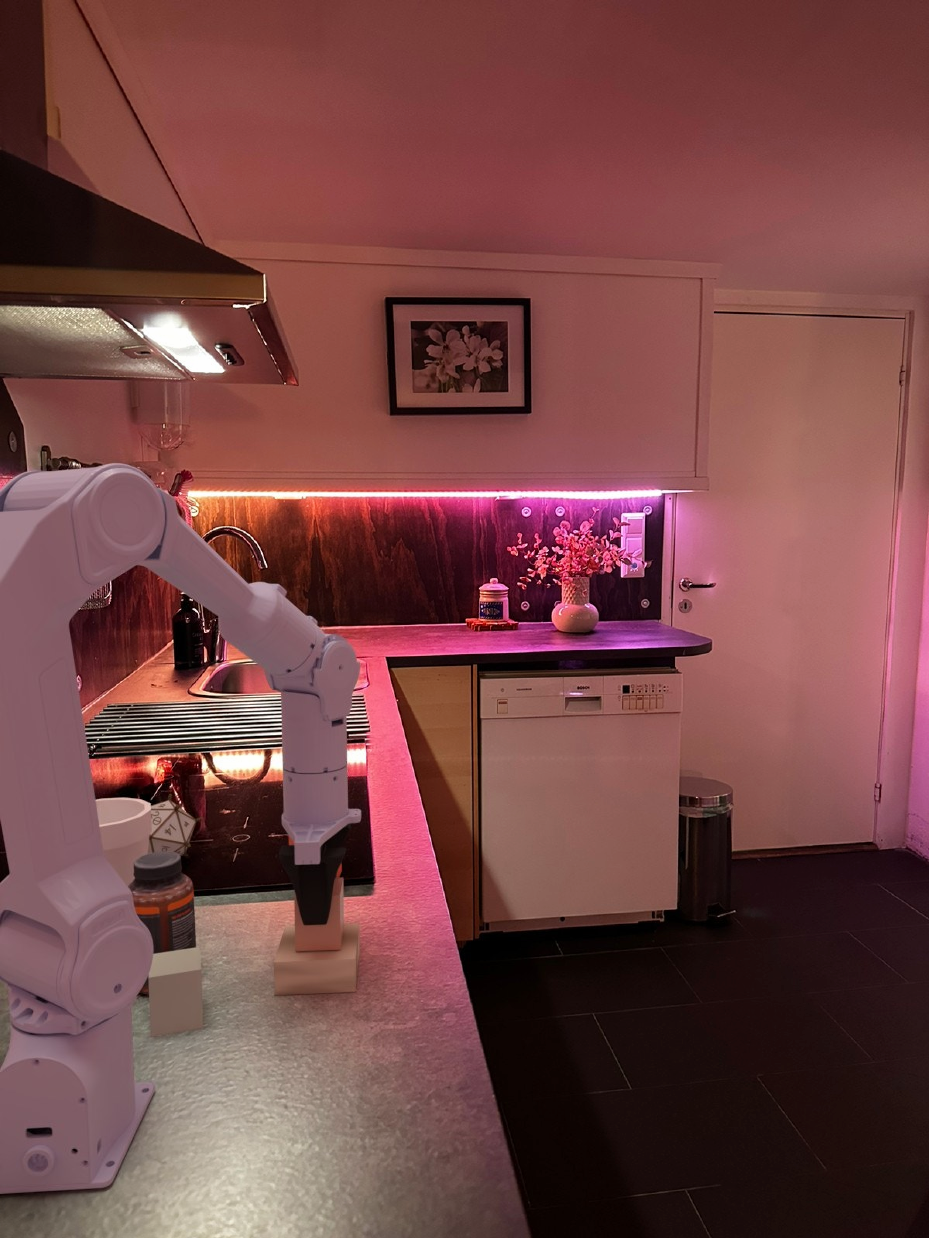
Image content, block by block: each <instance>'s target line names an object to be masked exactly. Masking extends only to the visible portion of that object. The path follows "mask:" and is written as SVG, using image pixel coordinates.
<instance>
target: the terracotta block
mask: <svg viewBox="0 0 929 1238" xmlns="http://www.w3.org/2000/svg"><path fill="white" fill-rule="evenodd" d="M293 898H294V900H293V901H294V904H293V905H294V907H293V908H294V925H295V951H315V950H341V944H342V938H343V931H344V923H345V913H344V912H345V911H344V910H345V909H344V906H345V905H344V877H339V878H335V880H334V886H333V893H332V901H331V908H330V913H329V918H328V921H327V924H326V925H304V924H303V922H302V919H301V915H300V912H299V907H298V903H297V899H296V895H295V894H294V897H293Z"/></svg>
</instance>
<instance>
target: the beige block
mask: <svg viewBox="0 0 929 1238" xmlns="http://www.w3.org/2000/svg"><path fill="white" fill-rule="evenodd" d="M201 955H202V954H201V946H196V948H189V949H183V950H176V951H170V952H163V953H157V954H153V960H152V965H151V969H150V972H149V977H148V979H149V994H148V997H149V998H148V999H149V1001H148V1002H149V1003H148V1004H149V1027H150V1032H149V1033H150V1038H154V1037H160V1036H166V1035H167V1036H168V1035H171V1034H176V1033H182V1032H188V1031H194V1030H198V1029H203V1028H204V1011H203V1009H204V1008H203V1005H204V1004H203V982H202V981H203V980H202V975H203V973H202V957H201ZM187 1030H188V1031H187Z"/></svg>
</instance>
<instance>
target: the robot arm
mask: <svg viewBox="0 0 929 1238" xmlns="http://www.w3.org/2000/svg"><path fill="white" fill-rule="evenodd" d="M136 566H143V567H145V568H146V569H148V570H149V571H151V572H152V573H153V574H154V575H157V576H158V577H160V578H161V579H163V580H164V581H165V582H167V583H169V584H170V585H171V586H173V587H175V588H176V589H177V590H179V591H180V592H182V593H184V594H185V595H186V596H188V597H189V598H191V599H192V600H194V601H195V602H196V603H198V604H200V605H201V606H203V607H204V608H206V609H207V610H208V611H210V612H212V613H213V614H214V615H215V616H218V617H217V621H218V622H217V623H218V625H217V626H218V632H219V634H220V636H221V638H222V639H223V640H225V642H227V643H228V644H229V645H231V646H233V647H234V648H235V649H237V650H238V651H239V652H240V653H241V654H243V655H244V656H246V657H247V658H248V659H249V660H251V661H252V662H254V663H255V664H256V665H258V666H259V667H261V669H263V671H264V675H265V679H266V682H267V684H268V686H269V688H270V689H271V690H272V691H277V692H279V693H280V704H281V706H280V708H281V709H280V711H281V751H282V755H281V756H282V758H281V759H282V785H283V786H282V790H283V791H282V793H283V812H282V814H281V826H282V828H283V829H284V830H285V832H286V833H287V835H288V837H289V836H290V837H291V839H292V840H293V842H294V845H289V844H288V845H287V844H286V845H281V847H280V849H279V852H278V859H279V862H280V864H281V866H282V867H283V869H284V870H285V872H286V874H287V876H288V878H289V879H290V881H291V886H292V887H293V889H294V896H295V895H296V899H297V903H298V907H299V912H300V915H301V919H302V922H303V924H304V925H326V924H327V921H328V918H329V913H330V908H331V901H332V893H333V886H334V880H335V878H336V876H337V871H338V869H339V867H340V865H341V863H342V862H343V860H344V858H345V855H346V851H347V847H344V843H345V841H346V839H347V837H348V834H349V833H350V831H351V824H357V823H360V822H361V819H362V810H361V809H359V808H349V798H348V797H349V795H348V794H349V792H348V791H349V789H348V738H347V737H348V733H347V731H348V730H347V729H348V727H347V725H348V724H347V717H348V716H349V715H350V714H351V709H353V694H354V690H355V688H356V685H357V683H358V680H359V676H360V672H361V662H360V661H358V660H357V654H356V651H355V649H354V648H353V646H352V645H351V644H350V643H349V642H348V641H347V640H346V638H345V637H343V636H342V635H339V634H336V633H335V634H334V633H325V632H324V631H323V629H321V627H319V626H318V620H316V618H314V617H313V616H311V615H306V614H305V613H303V611H301V610H300V609H299V608H298V607H297V606H295V604H293V603H292V602H291V601H290V599H288V598H287V597H286V596H287V593H288V591H287V590H286V589H285V587H283V586H282V585H280V584H279V583H267V582H265V581H256V582H252V583H251V582H250V583H249V582H247V581H246V580H245V579H244V578H243V577H242V576H241V575H240V574H239V573H238V572H237V571H236V570H235V569H234V568H232V566H231V565H230V564H229V563H228V562H227V561H225V559H224V558H222V556H221V555H219V553H217V552H216V550H215V549H213V547H212V546H210V545H209V544H208V542H206V541H205V539H203V538H202V537H201V535H199V534H198V533H197V531H195V530H194V529H193V528H192V527H191V526H190V525H189V524H188V523H187V522H186V521H185V520H184V519H183V518H182V517H181V515H180V514H179V512H178V506H177V502H176V499H175V498H174V497H173V496H172V495H171V494H170V493H168V492H167V491H165V490H163V489H161V488H160V487H157V486H156V484H155V483H154V481H153V480H152V479H151V478H150V477H149V476H148V475H147V474H146V473H144V472H143V471H142V470H140V469H139V468H137V467H135V466H132V465H129V464H125V463H122V462H121V463H120V462H119V463H117V462H112V463H107V464H103V465H99V466H95V467H84V468H74V469H73V468H72V469H62V470H53V471H52V470H51V471H49V470H48V471H47V470H39V469H37V470H36V469H35V470H31V471H30V470H29V471H25V472H22V473H19V474H18V475H16V476H14V477H12V479H10V480H9V481H7V483H6V484H4V485H3V486H2V487H1V488H0V824H1V829H2V830H1V831H2V835H3V841H4V847H5V852H6V858H7V864H8V865H7V866H8V870H9V874H8V875H6V877H5V878H4V879H3V880H2V881H1V882H0V981H1V983H5V984H6V985H7V1002H8V1003H9V1009H8V1010H9V1019H10V1020H9V1023H10V1036H9V1037H10V1038H9V1045H8V1050H7V1053H6V1055H5V1058H4V1061H3V1063H2V1065H1V1067H0V1194H19V1193H21V1194H22V1193H34V1192H52V1191H53V1192H54V1191H69V1190H70V1191H71V1190H72V1191H73V1190H85V1189H87V1190H88V1189H103V1188H106V1187H108V1186H111V1184H112V1183H113V1182H114V1180H115V1178H116V1176H117V1173H118V1171H119V1169H120V1167H121V1165H122V1162H123V1160H124V1158H125V1156H126V1154H127V1152H128V1149H129V1148H130V1145H131V1143H132V1140H133V1139H134V1136H135V1134H136V1133H137V1130H138V1128H139V1125H140V1123H141V1121H142V1119H143V1117H144V1115H145V1113H146V1111H147V1108H148V1106H149V1104H150V1101H151V1100H152V1098H153V1095H154V1093H155V1091H156V1084H155V1082H153V1081H140V1082H135V1068H134V1067H135V1065H134V1064H135V1062H134V1061H135V1060H134V1042H133V1041H134V1038H133V1035H134V1034H133V1017H132V1016H133V1013H132V1011H133V1009H132V1006H133V1005H134V1004H135V1003H136V1002H137V996H138V994H140V993H139V991H140V990H141V988H142V987H143V985H144V983H145V981H146V979H147V977H148V974H149V972H150V969H151V965H152V960H153V940H152V937H151V933H150V932H149V930H148V928H147V927H146V926H145V925H144V923H143V922H142V921H141V920H140V919H139V917H138V916H137V913H136V911H135V907H134V903H133V896H132V892H131V890H130V889H129V888H128V886H127V885H126V884H125V882H124V881H123V880H122V878H121V877H120V876H119V875H118V873H117V872H116V871H115V870H114V868H113V867H112V866H111V865H110V863H109V862H108V861H107V859H106V858H105V856H104V852H103V846H102V839H101V833H100V826H99V819H98V813H97V806H96V800H97V799H96V795H95V788H94V782H93V781H94V780H93V776H92V768H91V763H90V756H89V750H88V749H89V748H88V743H87V736H86V729H85V723H84V716H83V710H82V703H81V696H80V691H79V683H78V677H77V670H76V664H75V659H74V658H75V657H74V651H73V644H72V638H71V633H70V621H71V619H72V618H73V617H74V616H75V615H76V613H77V612H78V611H79V610H80V608H82V607H83V605H84V604H85V603H86V602H87V601H88V599H89V598H91V596H92V595H93V594H94V593H95V592H96V591H97V590H99V589H101V588H102V587H104V586H105V585H106V584H108V583H110V582H112V581H113V580H115V579H116V578H117V577H119V576H121V575H122V574H124V573H126V572H127V571H129V570H131V569H132V568H134V567H136Z"/></svg>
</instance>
